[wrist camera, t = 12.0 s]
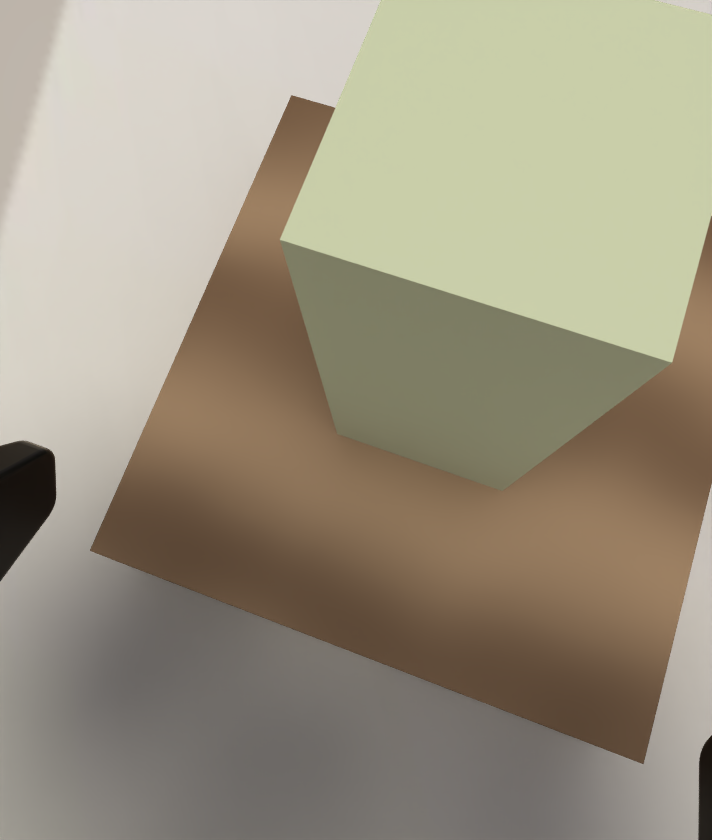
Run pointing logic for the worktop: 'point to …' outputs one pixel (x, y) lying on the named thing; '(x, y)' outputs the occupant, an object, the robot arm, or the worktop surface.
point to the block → (504, 223)
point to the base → (418, 504)
